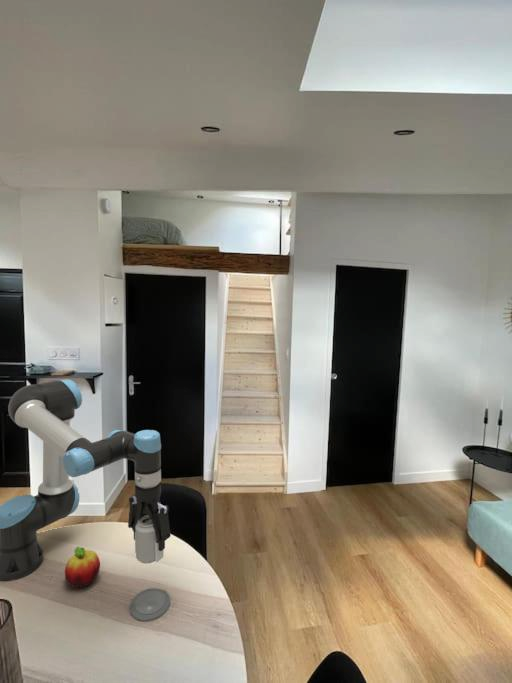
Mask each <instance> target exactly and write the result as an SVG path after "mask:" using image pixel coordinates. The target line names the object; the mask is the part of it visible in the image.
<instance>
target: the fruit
mask: <svg viewBox="0 0 512 683" xmlns="http://www.w3.org/2000/svg"><path fill="white" fill-rule="evenodd" d="M73 551H74V552H73V553H74V554H73V556H71V557H70V558H69V560H68V561H67V563H66V566H65V569H64V577H65V579H66V582H67V583H68V584H69V585H70V586H71V587H74V588H84V587H86V586H88V585H90V584H91V583H92V582H94V581H95V579H96V578H97V576H98V575H99V572H100V568H101V561H100V558H99V555H98V554H97V552H95V551H94V550H90V549H87V550H85V548H84V547H80V546H77V547H76V548H75V549H74V550H73Z"/></svg>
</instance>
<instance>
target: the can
mask: <svg viewBox="0 0 512 683" xmlns="http://www.w3.org/2000/svg"><path fill="white" fill-rule="evenodd" d="M135 533H136V553H135V558H136V561H138V562H140V563H142V564H147V565H148V564H151V563H155V562H156V561H155V541H156V540H157V537H156V534H155V530H154V527H153V524H152V520H151V519H150V518H149V515H148V514H145V516H144V517H142V518H141V519H139V520H138V522H137V524H136V526H135Z"/></svg>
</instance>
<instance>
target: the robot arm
mask: <svg viewBox="0 0 512 683" xmlns="http://www.w3.org/2000/svg"><path fill="white" fill-rule="evenodd" d="M82 403H83V396H82V393H81V390H80V387H79V386H78V384H77V383H76V382H75V381H73V380H72V379H69V378H68V379H66V378H65V379H57V380H51V381H46V382H41V383H35V384H28V385H26V386H25V385H24V386H23V387H21V388H19V389H18V390H17V391H15V392H14V393H13V395H12V396H11V397H10V400H9V403H8V406H7V408H8V410H7V411H8V416H9V417H10V419H11V420H12V421H13V423H14V424H16V425H17V426H18V427H20V428H23V429H25V428H26V429H28V430H29V431H30V432H32V433H33V435H34V436H36V437H38V438H39V439H40V440H41V441H43V442H42V449H43V450H42V483H40V484H39V485H38V487H37V495H33V494H32V495H31V494H22V495H17V496H14V497H12V498H10V499H8V500H6V501H5V502H3V503H2V504H1V505H0V581H3V580H8V581H13V579H14V580H18V579H21V578H24V577H26V576H28V575H29V574H31V572H32V573H33V572H35V571H36V570H37V569H38V568H40V566H41V565H42V563H43V561H44V551H43V549H42V546H41V545H40V543H39V540H38V536H37V531H39V530H41V529H43V528H46V527H47V526H50V525H51V524H53V523H55V522H58V521H60V520H62V519H65V518H67V517H68V516H70V515H71V514H73V513H74V512H75V511H76V510H77V509H78V506H79V503H80V492H79V489H78V487H77V485H76V484H75V483H74V482H73V480H71V479H70V478H69V477H71V478H77V477H80V476H83V475H84V476H85V475H87V474H90V473H92V472H94V471H96V470H99V469H101V468H103V467H105V466H108V465H111V464H113V463H115V462H118V461H121V460H123V459H125V460H129V461H133V462H134V483H135V485H134V495H132V496H131V497H129V498H128V500H129V501H128V502H129V509H128V510H129V511H128V521H127V527H128V528H129V529H132V532H133V541H134V549H135V550H134V552H135V554H136V533H135V526H136V524H137V522H138V520H139V519H141V518H142V517H144V516H145V515H149V518H150V519H151V520H152V524H153V527H154V530H155V534H156V537H157V540H156V541H155V561H154V562H155V563H158V562H159V561H161V560H162V559H164V556H165V555H164V550H165V548H166V541H167V540H168V539H170V538H171V528H170V527H171V526H170V521H169V520H170V519H169V505H168V504H165V505H163V504H161V500H160V498H161V494H162V482H161V481H162V469H161V467H162V463H161V462H162V460H161V459H162V458H161V457H162V454H161V452H162V451H161V450H162V443H161V434H160V432H158V431H157V430H154V429H143V430H140V431H137V432H136V433H133V432H130V431H127V430H121V429H115V430H113V431H111V432H110V433H109V434H108V435H106V437H105V438H102V439H100V440H96V441H94V442H91V441H90V440H89V439H87V438H86V437H84V436H83V435H82V434H80V433H79V431H76V430H75V429H73V428H72V427H71V426H70V425H71V421H72V420H73V419H74V418H75V410H78V409H79V408H80V407H82ZM23 576H24V577H23ZM20 577H21V578H20ZM17 578H18V579H17ZM11 579H12V580H11Z"/></svg>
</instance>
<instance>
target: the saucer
mask: <svg viewBox="0 0 512 683" xmlns="http://www.w3.org/2000/svg"><path fill="white" fill-rule="evenodd" d="M170 605H171V597H170V595H169V593H168V591H166V590H165V589H162V588H155V587H152V588H148V589H144V590H142V591H140V592H139V593H137V594H136V595H135V596H134V597H133V598H132V600H131V601H130V603H129V613H130V616H131V617H132V618H133V619H134V620H137V621H139V622H151V621H152V622H153V621H155V620H157V619H159V618H161V617H162V616H164V614H166V612H167V611H168V610H169V608H170V607H171V606H170Z"/></svg>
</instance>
